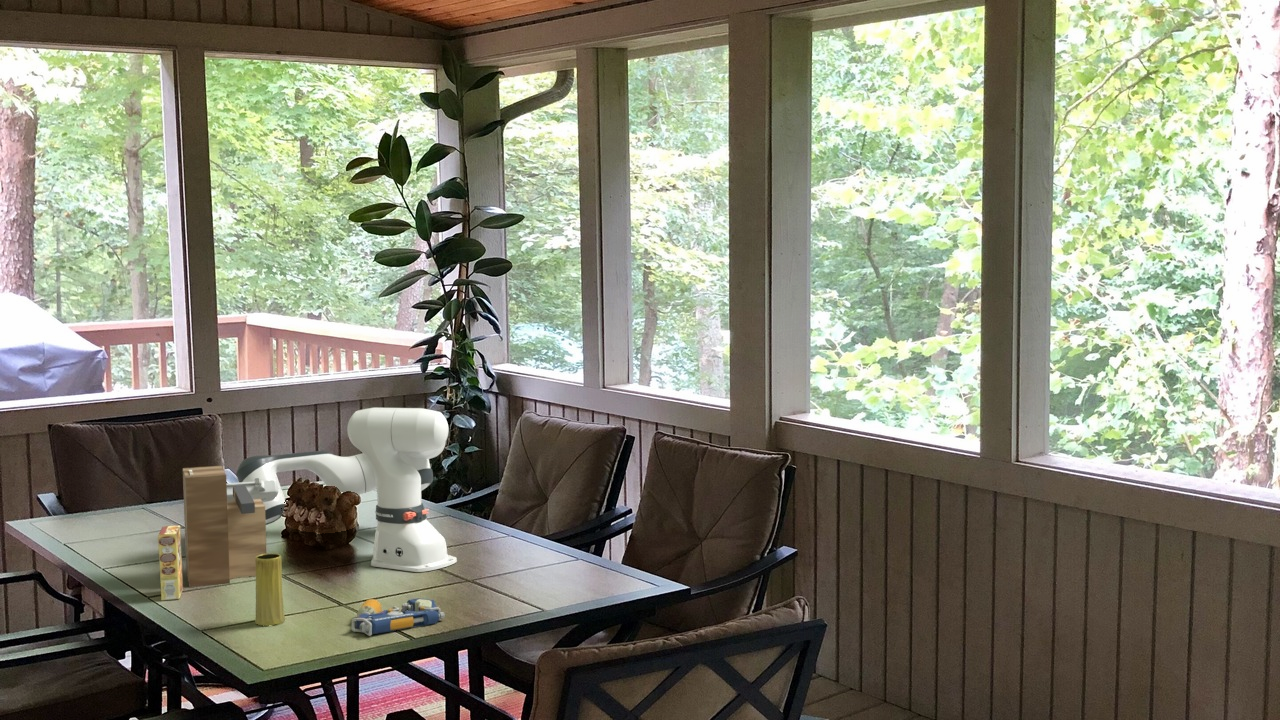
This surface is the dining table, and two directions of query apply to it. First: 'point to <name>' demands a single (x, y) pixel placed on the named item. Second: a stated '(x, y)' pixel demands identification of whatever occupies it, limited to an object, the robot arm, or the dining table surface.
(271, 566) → the vase
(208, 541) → the stand
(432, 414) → the robot arm
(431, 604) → the toy blaster gun
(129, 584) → the dining table surface
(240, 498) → the bar
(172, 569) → the candy box
